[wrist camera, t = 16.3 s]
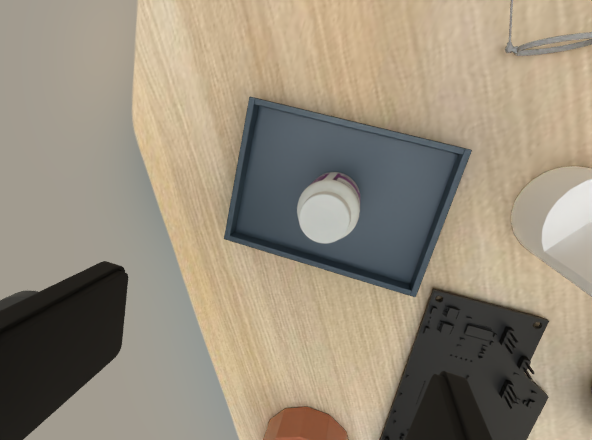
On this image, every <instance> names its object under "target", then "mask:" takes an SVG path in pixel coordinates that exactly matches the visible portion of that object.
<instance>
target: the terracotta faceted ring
mask: <svg viewBox="0 0 592 440" xmlns="http://www.w3.org/2000/svg"><path fill="white" fill-rule="evenodd" d="M263 440H349V439H348V436H347V433H346V431H345V430H344V429H343V428H342V427H341V426H340V425H339V424H338V423H337V422H336V421H335V420H334V419H333V418H332V417H331V416H330V415H328V414H326V413H323V412H320V411H317V410H315V409H312V408H309V407H297V408H285V409H284V410H282V411H281V412H280V413H278V414H277V415H275V416H274V417H273V418H271V419H270V421H269V424H268V427H267V430H266V433H265V436H264V439H263Z"/></svg>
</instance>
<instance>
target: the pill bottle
mask: <svg viewBox="0 0 592 440" xmlns="http://www.w3.org/2000/svg"><path fill="white" fill-rule="evenodd" d="M359 213H360V192H359V189H358V186H357V185H356V183H355V182H354V181H353V180H352V179H351V178H350V177H348V176H347V175H345V174H342V173H339V172H329V173H325V174H323V175H321V176H319V177H318V178H317V179H316V180H314V181H313V182H312V183H311V184H310V185H309V186H308V187H307V188H306V189H305V190H304V191H303V193H302V194H301V196H300V198H299V201H298V205H297V215H298V219H299V224H300V227H301V229H302V231H303V232H304V234H305V235H306V236H307V237H308V238H310V239H311V240H313V241H315V242H318V243H324V244H325V243H332V242H335V241H337V240H339V239H341V238H343V237H345V236H347V235H348V234H349V233H350V232H351V231H352V230H353V229H354V227H355V226H356V224H357V221H358V219H359Z"/></svg>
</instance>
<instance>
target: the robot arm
mask: <svg viewBox="0 0 592 440" xmlns="http://www.w3.org/2000/svg"><path fill="white" fill-rule="evenodd" d="M127 284H128V275H127V273H125V270H124V268H123V267H122V266H119V265H116V264H112V263H109V262H106V261H104V262H101V263H99V264H96V265H94V266H92V267H90V268H88V269H86V270H84V271H82V272H80V273H78V274H76V275H73V276H72V277H69V278H67V279H65V280H63V281H61V282H59V283H57V284H55V285H53V286H51V287H48V288H46V289H44V290H42V291H40V292H38V293H36V294H34V295H32V296H30V297H28V298H26V299H24V300H21V301H19V302H17V303H15V304H13V305H11V306H9V307H7V308H5V309H3V310H1V311H0V440H23V439H24V438H25V437H26V436H28V435H29V434H30V433H31V432H32V431H33V430H34V429H35V428H37V427H38V426H39V425H40V424H41V423H42V422H43V421H44V420H45V419H47V418H48V417H49V416H50V415H51V414H52V413H53V412H55V411H56V410H57V409H58V408H59V407H60V406H61V405H62V404H63V403H65V402H66V401H67V400H68V399H69V398H70V397H71V396H72V395H74V394H75V393H76V392H77V391H78V390H79V389H80V388H81V387H83V386H84V385H85V384H86V383H87V382H88V381H89V380H90V379H92V377H94V376H95V375H96V374H97V373H98V372H99V371H101V370H102V369H103V368H104V367H105V366H106V365H107V364H108V363H110V362H111V361H112V360H113V359H114V358H115V357H116V356H117V354H118V353H119V351H120V349H121V345H122V336H123V325H124V316H125V305H126V294H127ZM405 440H492V437H491V435H490V433H489V430H488V428H487V426H486V423H485V421H484V419H483V416H482V414H481V411H480V409H479V407H478V404H477V402H476V400H475V397H474V395H473V393H472V390H471V388H470V386H469V383H468V381H467V379H466V378H464V377H461V376H458V375H455V374H452V373H449V372H446V371H442V372H441V373H440V374H439V375H437V374H434V375H433V376H432V378H431V380H430V382H429V384H428V387H427V389H426V392H425V394H424V396H423V399H422V401H421V403H420V406H419V408H418V410H417V413H416V415H415V417H414V420H413V422H412V424H411V427H410V429H409V431H408V434H407V436H406V438H405Z"/></svg>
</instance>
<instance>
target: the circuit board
mask: <svg viewBox="0 0 592 440" xmlns="http://www.w3.org/2000/svg"><path fill="white" fill-rule="evenodd" d="M437 296H442V299H441V300H439V301H438V300H436V299H435V298H436V297H437ZM535 322H540V325H539V326H537V327H534V326H533V324H534V323H535ZM548 322H549V321H548V320H547V319H545V318H542V317H538V316H534V315H530V314H527V313H523V312H519V311H515V310H512V309H508V308H504V307H500V306H497V305H493V304H489V303H485V302H482V301H478V300H474V299H470V298H467V297H463V296H459V295H455V294H451V293H448V292H444V291H440V290H436V289H433V291H432V294H431V296H430V299H429V302H428V305H427V308H426V311H425V313H424V316H423V319H422V322H421V325H420V328H419V330H418V333H417V336H416V339H415V342H414V345H413V347H412V350H411V353H410V356H409V359H408V362H407V365H406V367H405V370H404V373H403V376H402V379H401V382H400V384H399V387H398V390H397V393H396V396H395V399H394V401H393V404H392V407H391V410H390V413H389V416H388V418H387V421H386V424H385V427H384V430H383V433H382V436H381V438H380V440H405V438H406V436H407V434H408V431H409V429H410V427H411V424H412V422H413V420H414V417H415V415H416V413H417V410H418V408H419V406H420V403H421V401H422V399H423V396H424V394H425V392H426V389H427V387H428V384H429V382H430V380H431V378H432V376H433V375H434V374H437V375H439V374H440V373H441V372H442V371H446V372H449V373H452V374H455V375H458V376H461V377H464V378H466V379H467V381H468V383H469V386H470V388H471V390H472V393H473V395H474V397H475V400H476V402H477V404H478V407H479V409H480V411H481V414H482V416H483V419H484V421H485V423H486V426H487V428H488V430H489V433H490V435H491V437H492V440H527V438H528V436H529V434H530V432H531V430H532V428H533V426H534V424H535V422H536V420H537V418H538V416H539V415H540V413H541V411H542V409H543V407H544V405H545V403H546V401H547V399H548V396H547V394H546V393H545V392H544V391H542V390H541V389H540V388H539V387H538V386H537V385H536V384H535V383H534V382H533V381H532V380H531V379H532V378H531V376H530V375H529V373H528V372H527V369H529V370H530V371H531V373H532V374H534V371H533V370H532V368H531V367H530V366H529V365H530V360H531V358H532V356H533V354H534V351H535V349H536V347H537V345H538V343H539V341H540V339H541V337H542V335H543V333H544V331H545V328H546V326H547V324H548ZM524 372H525V373H526V375H527V376H528V377H527V376H526V375H525V374H524Z"/></svg>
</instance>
